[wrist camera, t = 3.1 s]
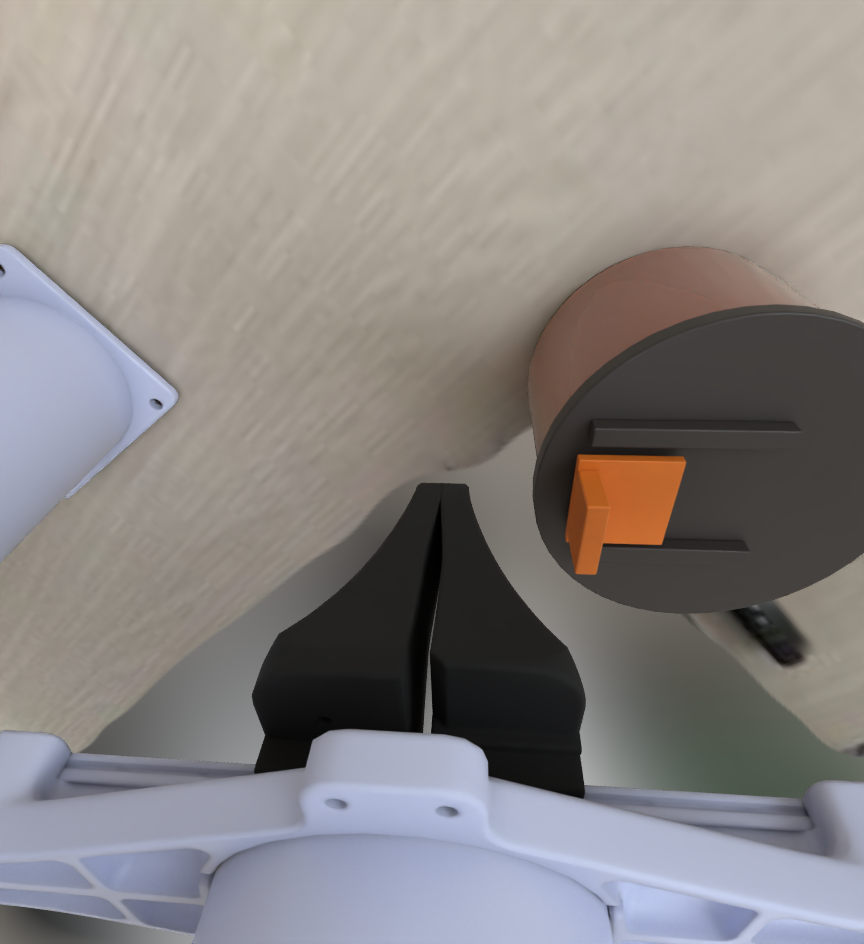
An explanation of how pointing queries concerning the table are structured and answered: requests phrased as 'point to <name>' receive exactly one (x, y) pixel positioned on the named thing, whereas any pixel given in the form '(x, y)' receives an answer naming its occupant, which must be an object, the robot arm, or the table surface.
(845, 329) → the lidded cup
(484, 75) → the table surface
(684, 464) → the slider
